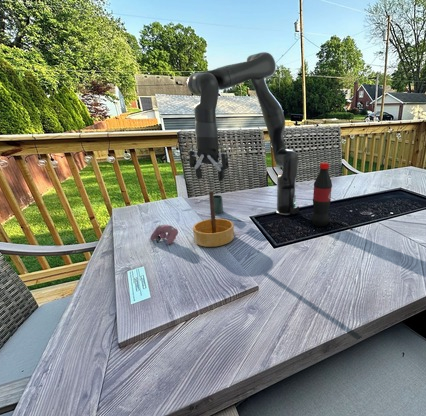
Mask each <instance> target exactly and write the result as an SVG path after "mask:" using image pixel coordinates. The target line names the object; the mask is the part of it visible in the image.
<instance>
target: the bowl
mask: <svg viewBox="0 0 426 416" xmlns="http://www.w3.org/2000/svg"><path fill="white" fill-rule="evenodd" d="M215 222H216V233H212V225H211V218H208V219H204V220H201V221H198V222H196V223H195V224H194V225H193V226H192V233H193V242H194V243H195V244H196V245H198V246H201V247H205V248H206V247H207V248H209V247H210V248H211V247H214V248H215V247H220V246H223V245H227V244H229V243H231V242H232V241H233V240H234V239H235V224H234V222H233V221H231V220H229V219H226V218H215Z"/></svg>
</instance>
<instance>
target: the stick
mask: <svg viewBox="0 0 426 416" xmlns="http://www.w3.org/2000/svg"><path fill="white" fill-rule="evenodd" d="M214 195H215V193H214V190H213V189H211V190H208V197H209V198H208V199H209V210H210V211H209V212H210V219H211V225H212V233H216V222H215V219H216V214H215V207H214Z"/></svg>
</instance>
